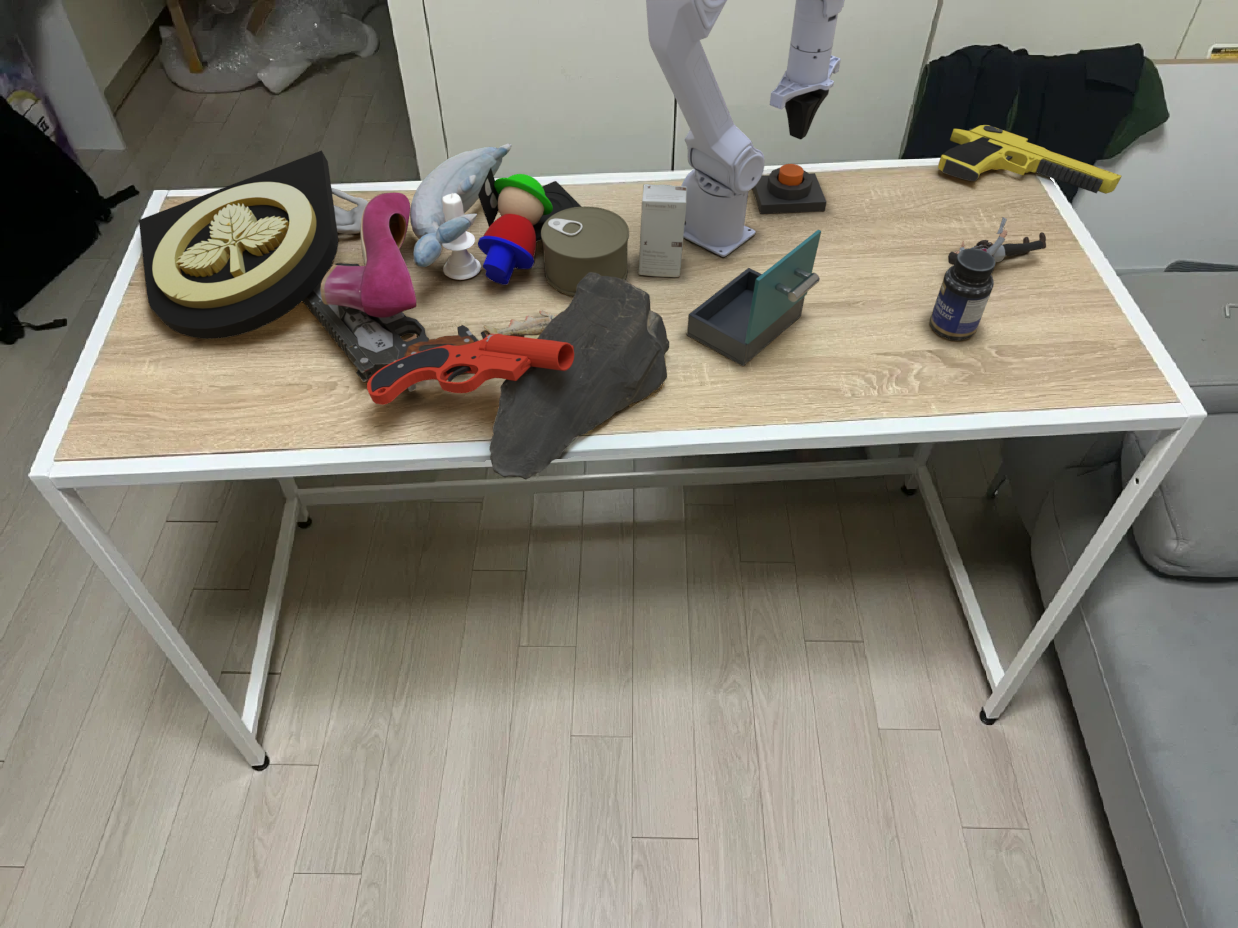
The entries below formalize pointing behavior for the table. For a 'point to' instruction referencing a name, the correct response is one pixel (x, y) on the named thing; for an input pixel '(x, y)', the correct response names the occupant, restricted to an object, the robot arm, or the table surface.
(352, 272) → the high heel
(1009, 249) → the action figure
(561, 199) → the light switch
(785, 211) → the block
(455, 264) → the candle
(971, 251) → the pill bottle
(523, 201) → the toy figure
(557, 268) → the can
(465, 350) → the flare gun
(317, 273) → the decorative plaque
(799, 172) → the button
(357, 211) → the figurine
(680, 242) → the cosmetic box
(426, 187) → the sculpture
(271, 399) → the table surface
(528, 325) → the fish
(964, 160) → the handgun
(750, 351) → the dark gray box base
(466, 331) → the fictional weapon
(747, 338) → the teal flat panel
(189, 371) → the table surface
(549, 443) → the stone
